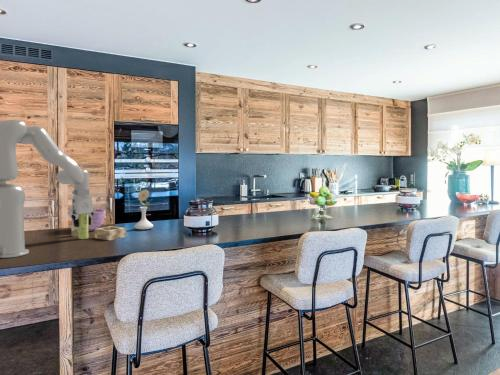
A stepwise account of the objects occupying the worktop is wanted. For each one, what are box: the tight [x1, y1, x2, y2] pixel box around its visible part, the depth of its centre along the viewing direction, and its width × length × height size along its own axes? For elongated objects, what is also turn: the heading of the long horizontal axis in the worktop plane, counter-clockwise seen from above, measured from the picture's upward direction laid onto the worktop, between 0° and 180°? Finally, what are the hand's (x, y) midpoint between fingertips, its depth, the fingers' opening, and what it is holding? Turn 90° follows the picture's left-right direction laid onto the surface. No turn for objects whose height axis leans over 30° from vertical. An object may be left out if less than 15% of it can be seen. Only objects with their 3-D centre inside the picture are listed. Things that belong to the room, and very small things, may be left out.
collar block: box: [94, 225, 127, 241], centre depth 196 cm, size 11×12×5 cm
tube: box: [77, 213, 89, 240], centre depth 192 cm, size 6×5×20 cm
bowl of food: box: [71, 208, 106, 232], centre depth 218 cm, size 20×20×12 cm
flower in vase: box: [133, 189, 154, 230], centre depth 220 cm, size 13×11×25 cm
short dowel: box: [70, 222, 78, 238], centre depth 200 cm, size 4×4×7 cm
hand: (82, 225), depth 193 cm, fingers open, 6 cm apart
